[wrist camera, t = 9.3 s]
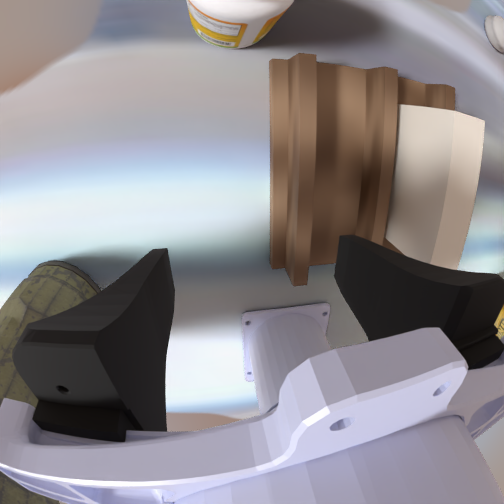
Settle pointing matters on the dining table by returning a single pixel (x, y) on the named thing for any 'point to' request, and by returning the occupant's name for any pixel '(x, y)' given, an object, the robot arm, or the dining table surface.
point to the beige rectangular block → (433, 183)
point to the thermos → (11, 327)
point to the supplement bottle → (235, 20)
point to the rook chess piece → (495, 31)
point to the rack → (333, 155)
